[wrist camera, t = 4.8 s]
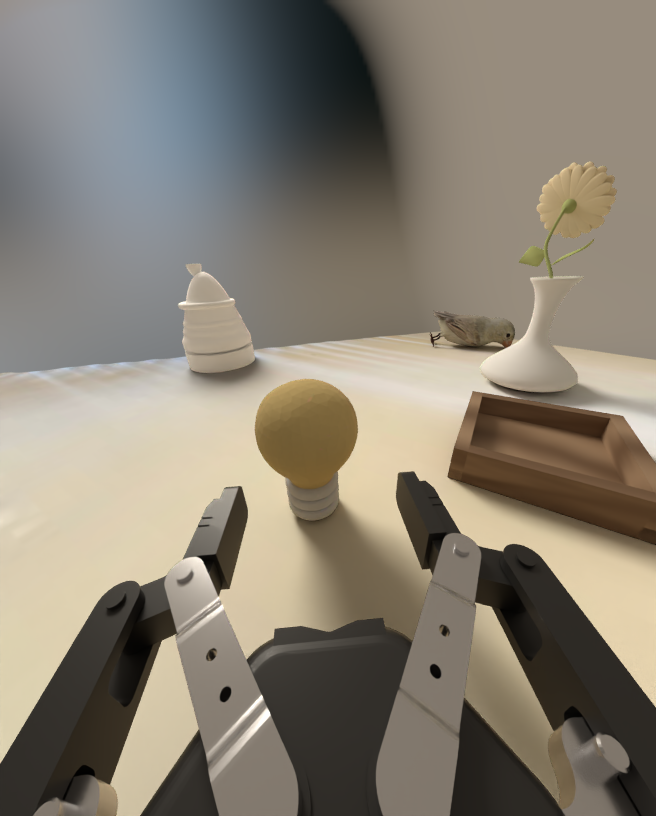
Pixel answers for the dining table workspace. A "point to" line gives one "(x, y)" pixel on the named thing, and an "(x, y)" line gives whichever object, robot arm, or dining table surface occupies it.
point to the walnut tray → (559, 461)
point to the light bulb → (307, 442)
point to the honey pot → (213, 327)
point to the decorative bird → (474, 329)
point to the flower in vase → (553, 281)
